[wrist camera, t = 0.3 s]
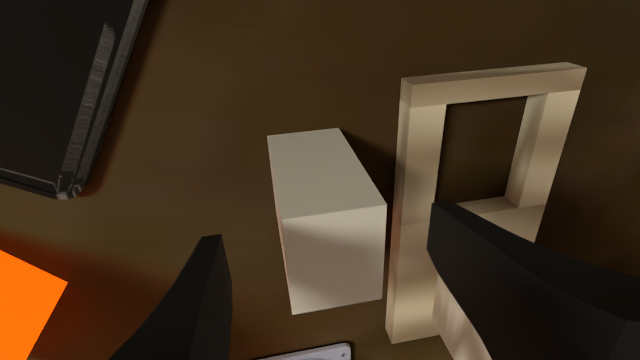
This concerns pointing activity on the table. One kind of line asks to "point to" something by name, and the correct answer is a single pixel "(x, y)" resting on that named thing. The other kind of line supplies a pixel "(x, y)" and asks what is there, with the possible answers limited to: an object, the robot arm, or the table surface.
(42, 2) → the phone
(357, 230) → the off-white rectangular block
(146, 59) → the table surface
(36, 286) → the orange juice
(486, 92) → the beige piece
